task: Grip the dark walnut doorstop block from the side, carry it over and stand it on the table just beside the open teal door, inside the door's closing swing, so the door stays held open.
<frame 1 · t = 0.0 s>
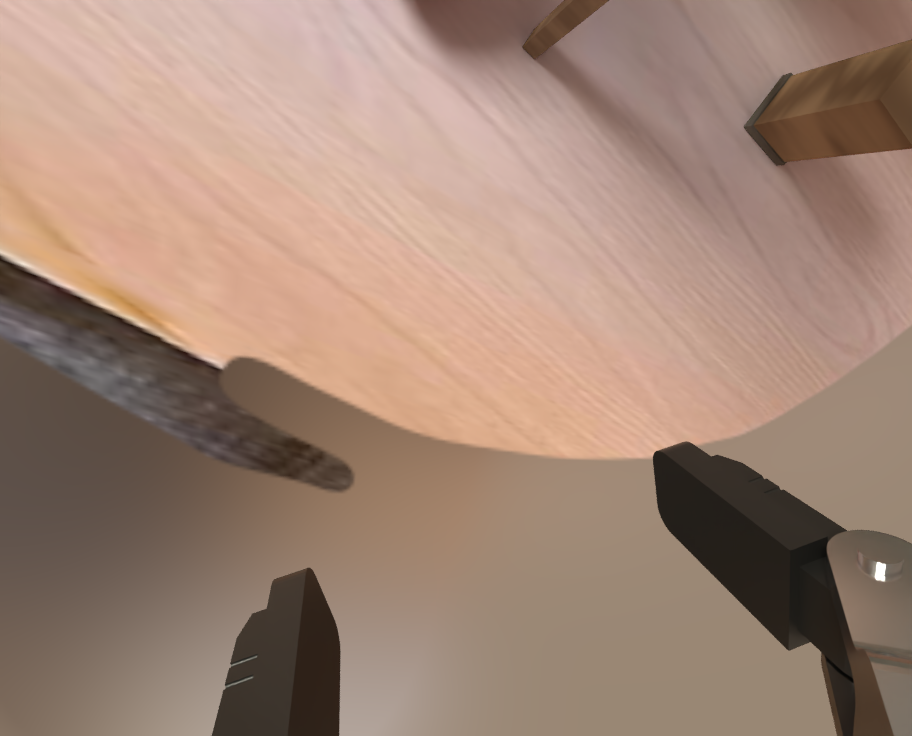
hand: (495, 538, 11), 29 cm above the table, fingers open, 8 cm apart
doorstop: (779, 121, 40), on the table
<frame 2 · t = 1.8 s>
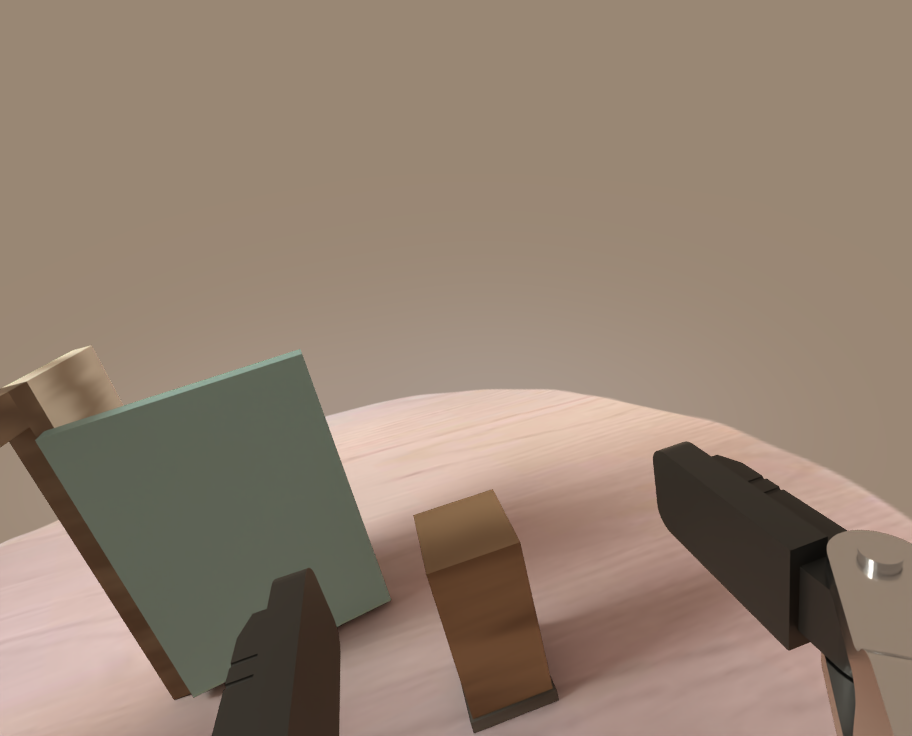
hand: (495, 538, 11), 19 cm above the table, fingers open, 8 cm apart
doorstop: (503, 676, 28), on the table
door: (245, 524, 30), point 10 cm above the table, hinge at 100.0°
door frame: (181, 702, 31), on the table
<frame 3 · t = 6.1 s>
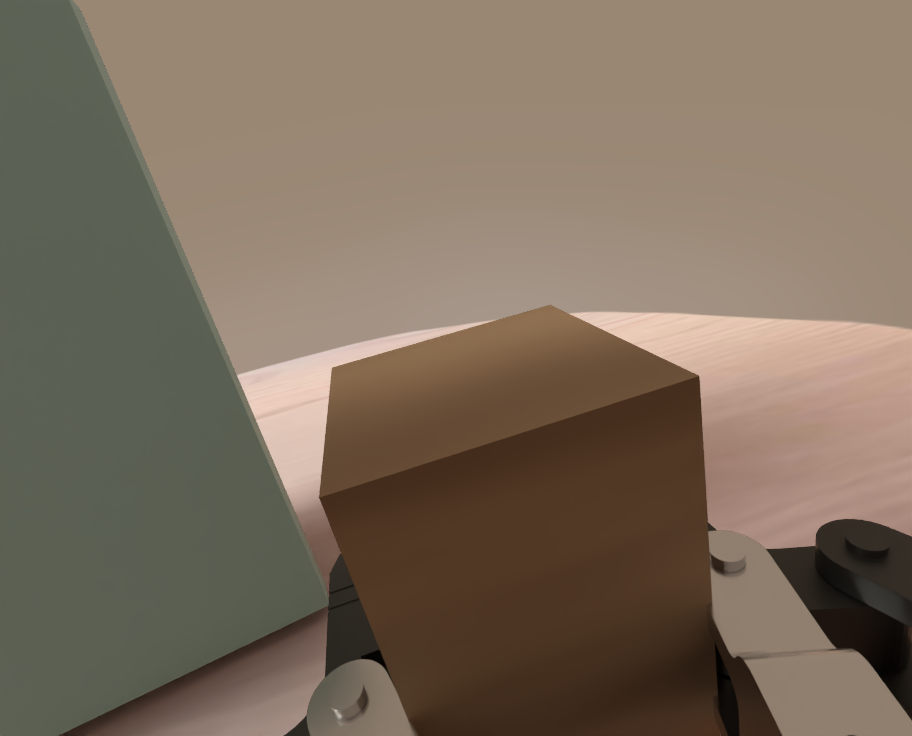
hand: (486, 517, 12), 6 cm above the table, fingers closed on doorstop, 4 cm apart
when the fingers open (7 cm above the table, at t = 11.7 s): doorstop drops 1 cm, on the table.
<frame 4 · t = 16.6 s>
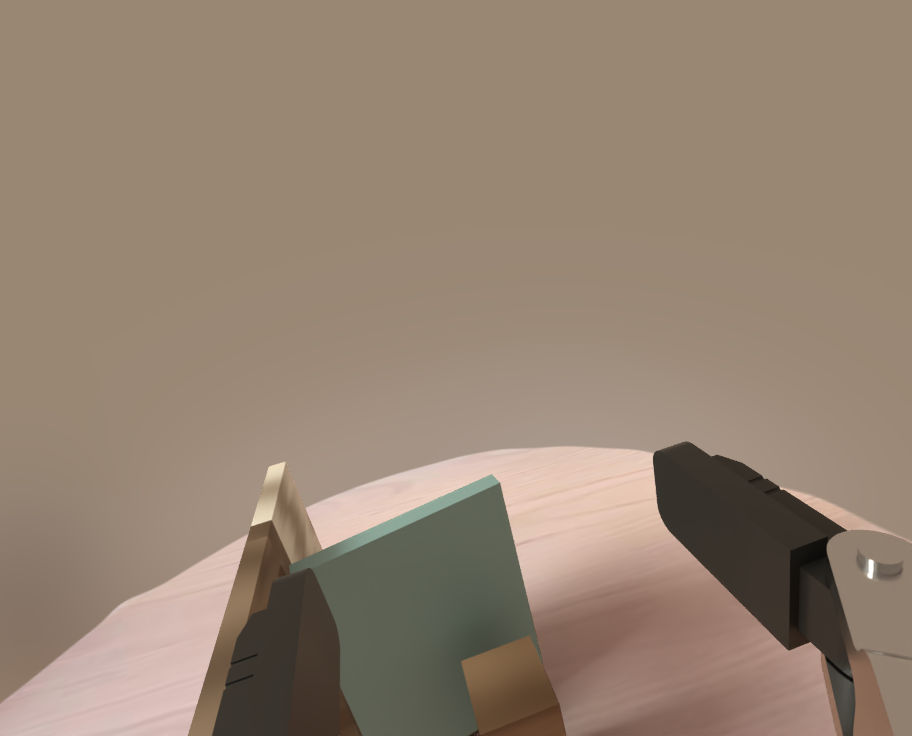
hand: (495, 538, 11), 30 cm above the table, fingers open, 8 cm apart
door: (434, 628, 33), point 10 cm above the table, hinge at 100.0°
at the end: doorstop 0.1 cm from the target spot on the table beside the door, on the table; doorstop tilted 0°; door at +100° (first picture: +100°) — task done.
